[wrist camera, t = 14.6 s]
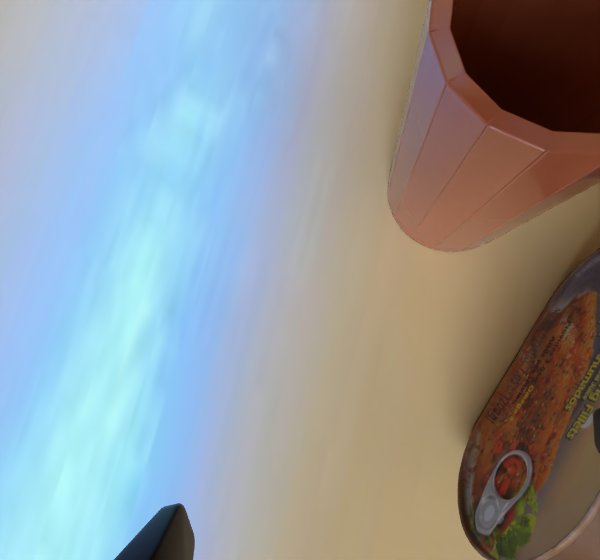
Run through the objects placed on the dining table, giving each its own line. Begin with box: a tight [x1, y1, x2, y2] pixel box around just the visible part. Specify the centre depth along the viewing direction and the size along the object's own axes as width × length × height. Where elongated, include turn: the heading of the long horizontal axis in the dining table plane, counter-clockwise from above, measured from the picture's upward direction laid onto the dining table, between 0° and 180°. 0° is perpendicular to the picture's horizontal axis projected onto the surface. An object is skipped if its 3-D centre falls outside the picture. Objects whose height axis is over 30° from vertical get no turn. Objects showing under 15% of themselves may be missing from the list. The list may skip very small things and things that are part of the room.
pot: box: [388, 0, 600, 252], centre depth 14 cm, size 7×7×12 cm
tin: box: [458, 248, 600, 560], centre depth 15 cm, size 15×3×8 cm, turn 148°
